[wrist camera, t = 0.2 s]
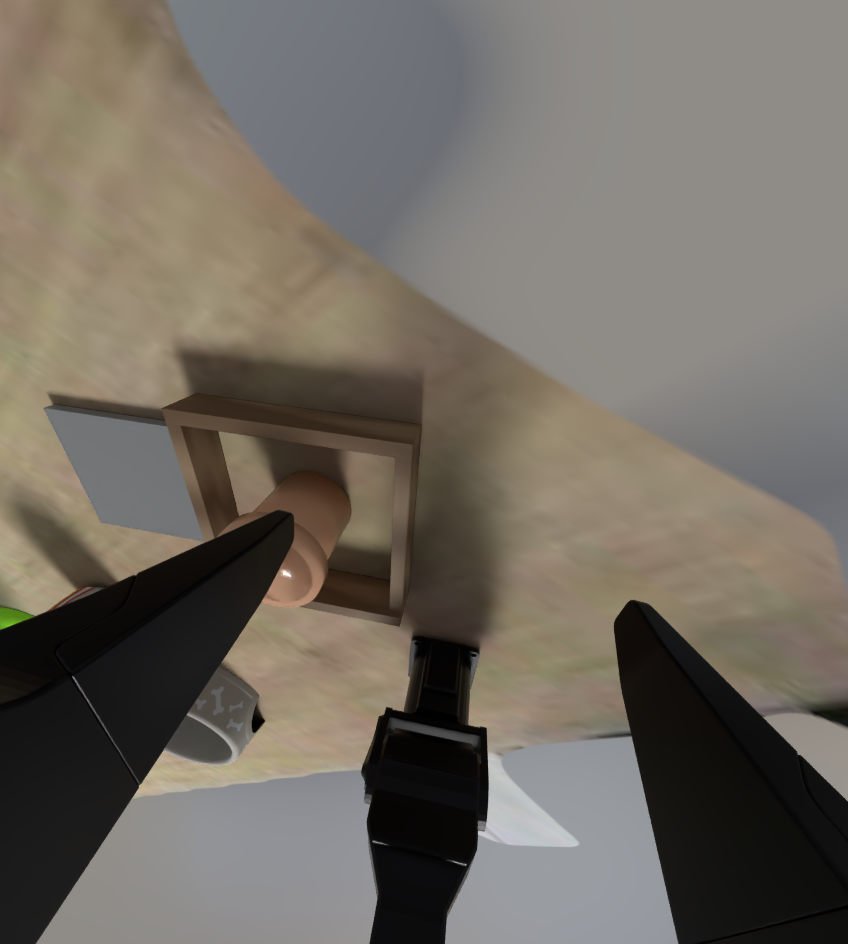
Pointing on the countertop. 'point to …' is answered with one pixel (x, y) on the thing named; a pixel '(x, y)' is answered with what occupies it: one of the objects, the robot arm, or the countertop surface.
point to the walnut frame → (206, 468)
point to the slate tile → (127, 470)
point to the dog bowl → (217, 722)
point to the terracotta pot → (303, 534)
